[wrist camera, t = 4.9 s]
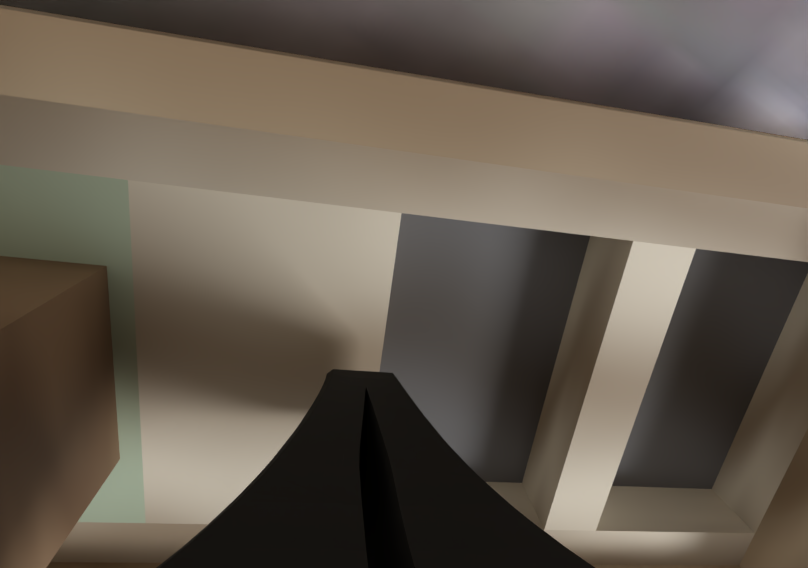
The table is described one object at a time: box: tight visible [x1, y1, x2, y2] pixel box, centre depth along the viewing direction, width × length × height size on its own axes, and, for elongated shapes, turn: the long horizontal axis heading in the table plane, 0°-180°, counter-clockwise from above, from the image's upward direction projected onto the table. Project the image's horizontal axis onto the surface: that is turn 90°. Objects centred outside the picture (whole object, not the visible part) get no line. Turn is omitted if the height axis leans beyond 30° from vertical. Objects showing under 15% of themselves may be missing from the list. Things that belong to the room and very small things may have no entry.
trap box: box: [0, 5, 808, 568], centre depth 10 cm, size 13×24×4 cm, turn 82°
